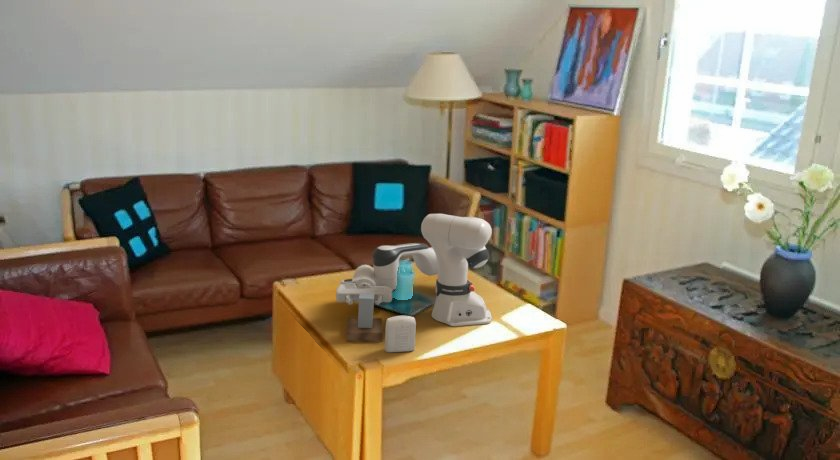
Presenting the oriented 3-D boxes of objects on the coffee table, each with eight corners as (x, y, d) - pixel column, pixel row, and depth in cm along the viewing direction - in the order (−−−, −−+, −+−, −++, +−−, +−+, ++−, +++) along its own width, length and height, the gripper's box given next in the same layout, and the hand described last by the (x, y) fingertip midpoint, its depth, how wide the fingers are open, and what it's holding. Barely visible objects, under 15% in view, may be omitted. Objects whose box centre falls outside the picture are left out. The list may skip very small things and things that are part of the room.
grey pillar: (372, 322, 257) (374, 293, 254) (372, 328, 253) (373, 298, 250) (358, 321, 257) (359, 292, 254) (357, 327, 252) (358, 298, 249)
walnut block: (381, 328, 262) (381, 318, 261) (382, 343, 251) (382, 332, 250) (348, 328, 262) (348, 317, 260) (347, 343, 250) (347, 332, 249)
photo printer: (413, 346, 249) (414, 312, 245) (416, 351, 245) (417, 317, 241) (383, 348, 246) (384, 314, 243) (386, 353, 242) (386, 319, 239)
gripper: (392, 296, 270) (393, 311, 257) (336, 296, 269) (335, 311, 256) (392, 280, 268) (393, 294, 255) (336, 280, 267) (335, 294, 254)
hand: (364, 303), depth 255 cm, fingers open, 8 cm apart
